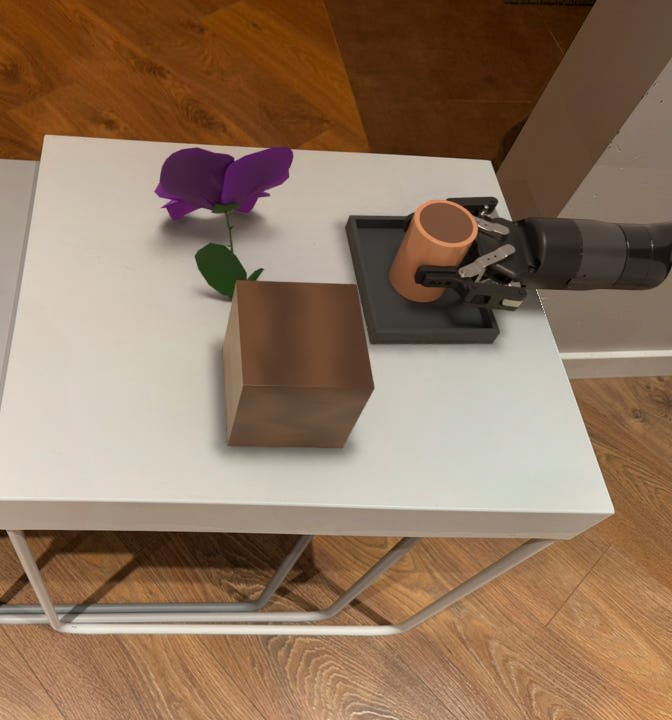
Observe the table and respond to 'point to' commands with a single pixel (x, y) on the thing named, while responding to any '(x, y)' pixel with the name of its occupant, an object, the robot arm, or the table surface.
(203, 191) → the flower
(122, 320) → the table surface
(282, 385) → the block
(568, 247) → the robot arm
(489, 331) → the tray
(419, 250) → the cup
